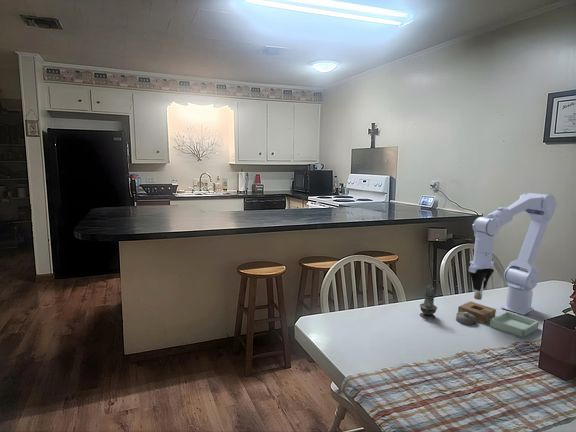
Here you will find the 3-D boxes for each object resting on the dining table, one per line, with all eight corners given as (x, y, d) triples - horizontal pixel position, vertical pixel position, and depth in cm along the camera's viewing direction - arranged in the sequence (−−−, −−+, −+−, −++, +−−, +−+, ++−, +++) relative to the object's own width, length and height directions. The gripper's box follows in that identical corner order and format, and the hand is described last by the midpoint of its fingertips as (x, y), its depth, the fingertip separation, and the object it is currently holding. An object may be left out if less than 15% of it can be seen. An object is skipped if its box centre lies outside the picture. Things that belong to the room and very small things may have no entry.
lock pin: (475, 296, 134) (478, 275, 133) (484, 299, 132) (487, 277, 131) (471, 297, 132) (473, 276, 131) (480, 300, 130) (483, 278, 129)
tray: (505, 317, 132) (506, 311, 132) (538, 328, 124) (539, 321, 124) (489, 326, 125) (490, 319, 124) (523, 338, 117) (524, 330, 116)
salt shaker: (438, 320, 128) (441, 287, 127) (420, 318, 130) (423, 285, 128) (434, 313, 134) (437, 281, 132) (417, 312, 135) (420, 280, 134)
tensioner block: (469, 308, 140) (470, 301, 139) (495, 317, 133) (496, 309, 132) (448, 318, 130) (449, 310, 130) (474, 328, 123) (475, 319, 123)
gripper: (481, 246, 137) (477, 282, 139) (461, 251, 128) (457, 289, 130) (501, 250, 132) (497, 287, 134) (482, 256, 123) (478, 295, 125)
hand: (479, 288), depth 132 cm, fingers closed on lock pin, 3 cm apart
